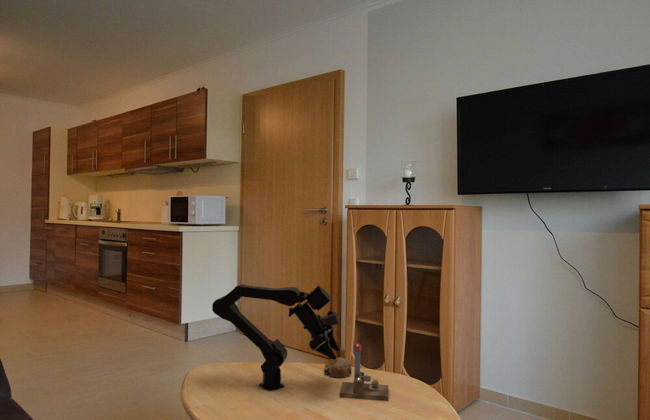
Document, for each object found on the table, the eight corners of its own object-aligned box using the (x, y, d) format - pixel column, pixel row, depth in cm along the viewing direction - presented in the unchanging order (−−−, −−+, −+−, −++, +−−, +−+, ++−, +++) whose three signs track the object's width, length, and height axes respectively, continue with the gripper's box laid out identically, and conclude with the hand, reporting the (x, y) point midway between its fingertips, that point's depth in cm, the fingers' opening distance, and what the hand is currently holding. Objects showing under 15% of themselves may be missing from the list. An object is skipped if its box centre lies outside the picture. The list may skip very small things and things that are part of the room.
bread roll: (343, 389, 168) (353, 370, 167) (319, 375, 170) (329, 356, 169) (347, 379, 178) (357, 361, 177) (324, 366, 180) (333, 348, 179)
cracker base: (339, 397, 151) (339, 380, 151) (342, 386, 161) (342, 370, 161) (388, 401, 149) (388, 384, 149) (388, 389, 159) (388, 373, 159)
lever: (352, 385, 153) (353, 345, 153) (353, 379, 159) (354, 340, 159) (370, 387, 152) (371, 346, 152) (370, 380, 158) (371, 341, 158)
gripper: (322, 309, 148) (353, 348, 146) (330, 299, 166) (357, 333, 165) (296, 330, 149) (326, 369, 148) (306, 317, 168) (333, 352, 166)
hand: (337, 354), depth 156 cm, fingers open, 9 cm apart
